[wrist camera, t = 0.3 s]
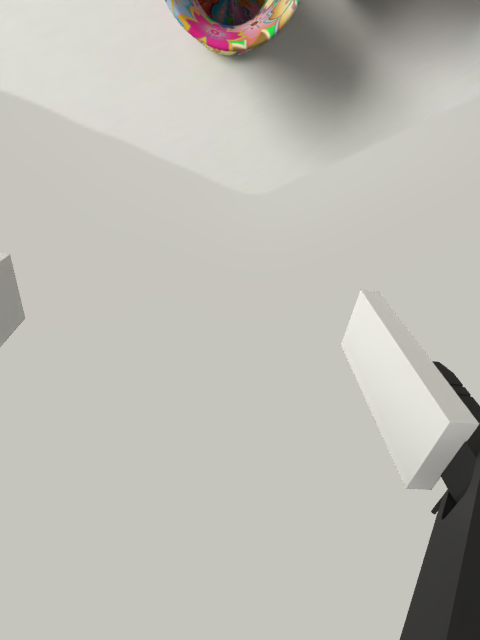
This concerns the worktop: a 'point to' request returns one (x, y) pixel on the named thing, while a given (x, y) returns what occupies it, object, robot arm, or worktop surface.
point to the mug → (233, 22)
